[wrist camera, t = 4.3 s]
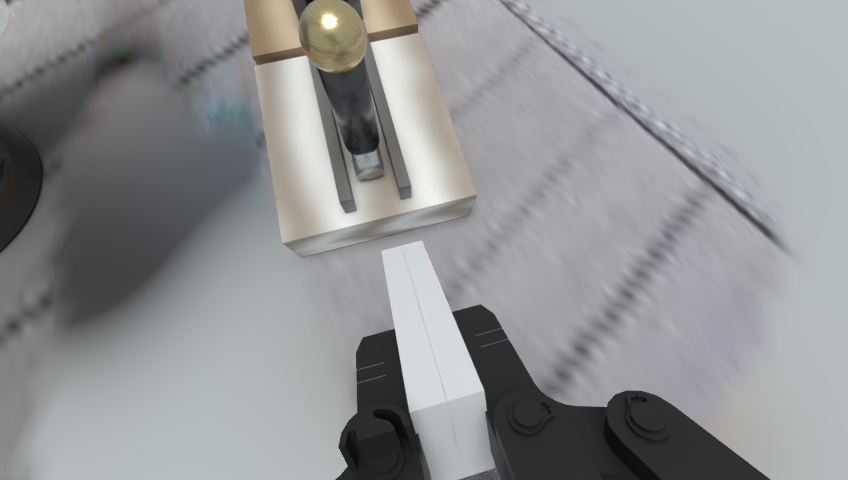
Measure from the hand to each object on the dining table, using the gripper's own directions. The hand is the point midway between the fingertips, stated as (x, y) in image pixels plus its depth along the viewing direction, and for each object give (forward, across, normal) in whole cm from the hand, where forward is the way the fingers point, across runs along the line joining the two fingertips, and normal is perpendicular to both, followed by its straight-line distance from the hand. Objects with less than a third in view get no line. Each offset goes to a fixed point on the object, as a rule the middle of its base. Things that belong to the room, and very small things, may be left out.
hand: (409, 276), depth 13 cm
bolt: (+18, -1, +4) cm, 18 cm away
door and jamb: (+23, -1, +4) cm, 24 cm away
